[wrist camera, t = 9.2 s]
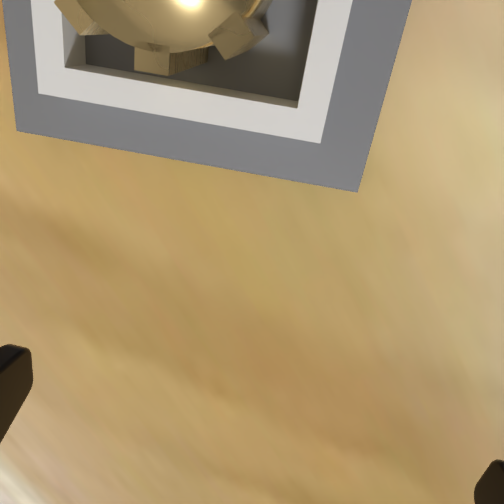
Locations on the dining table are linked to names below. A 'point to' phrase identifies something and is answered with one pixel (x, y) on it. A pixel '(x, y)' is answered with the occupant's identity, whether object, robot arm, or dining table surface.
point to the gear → (172, 28)
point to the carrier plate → (218, 90)
